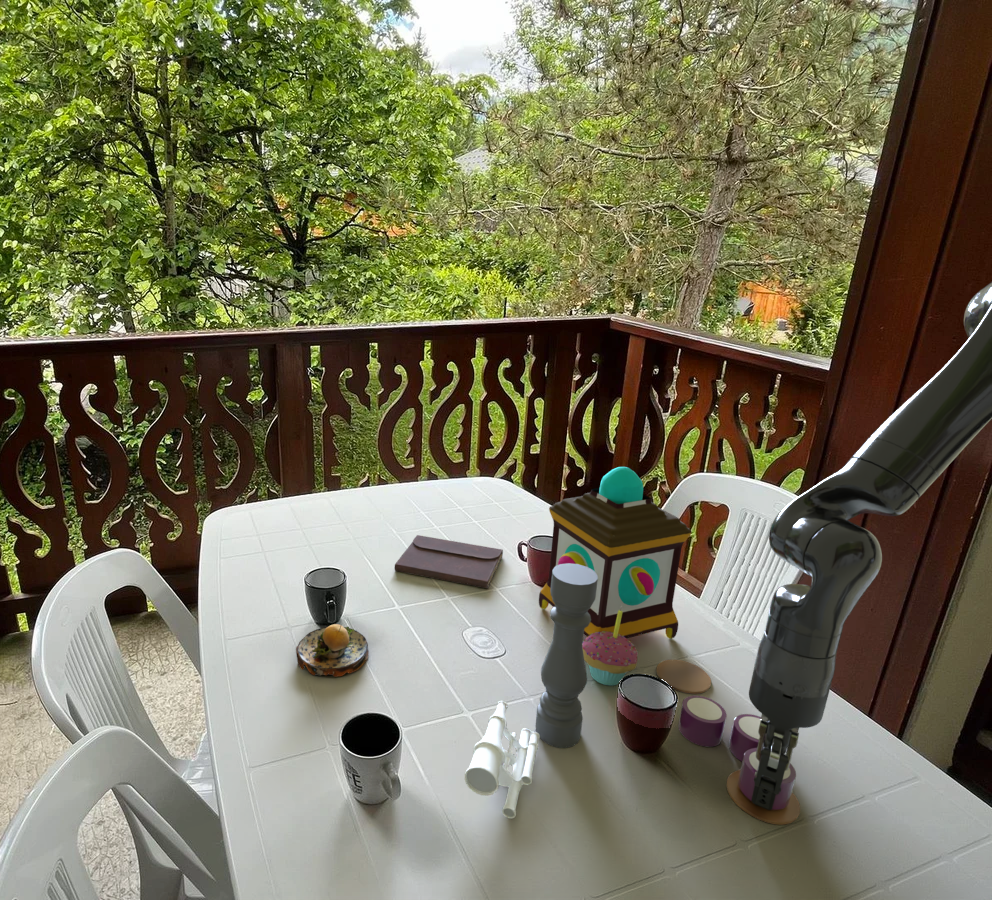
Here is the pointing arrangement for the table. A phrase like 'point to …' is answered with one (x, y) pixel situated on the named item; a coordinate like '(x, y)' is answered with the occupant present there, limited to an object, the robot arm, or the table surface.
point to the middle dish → (744, 734)
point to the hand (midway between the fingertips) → (764, 787)
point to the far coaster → (684, 676)
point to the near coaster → (769, 816)
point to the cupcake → (609, 655)
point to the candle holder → (566, 656)
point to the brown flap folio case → (450, 561)
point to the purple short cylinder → (748, 775)
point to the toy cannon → (502, 761)
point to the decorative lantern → (621, 554)
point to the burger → (332, 651)
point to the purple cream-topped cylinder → (702, 721)
